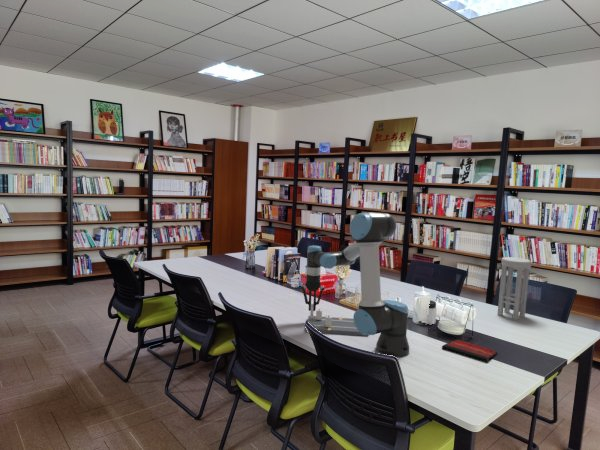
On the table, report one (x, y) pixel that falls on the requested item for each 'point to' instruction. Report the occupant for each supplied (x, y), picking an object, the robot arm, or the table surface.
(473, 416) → the table surface
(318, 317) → the fader
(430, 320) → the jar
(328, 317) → the fader
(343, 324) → the console
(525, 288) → the stool
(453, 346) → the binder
